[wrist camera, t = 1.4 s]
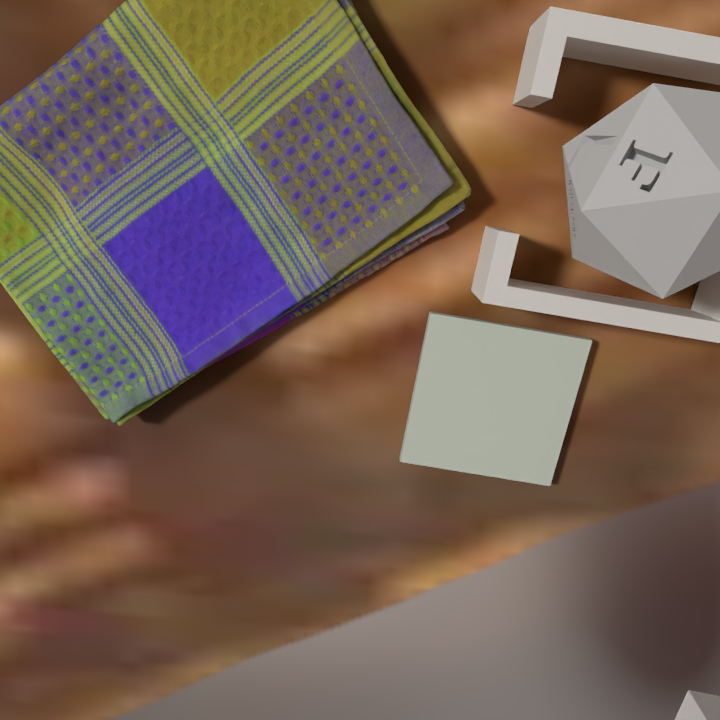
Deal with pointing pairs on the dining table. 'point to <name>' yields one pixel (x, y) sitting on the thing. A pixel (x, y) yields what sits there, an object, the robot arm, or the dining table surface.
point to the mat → (493, 398)
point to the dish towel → (207, 185)
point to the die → (649, 190)
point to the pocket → (536, 85)
